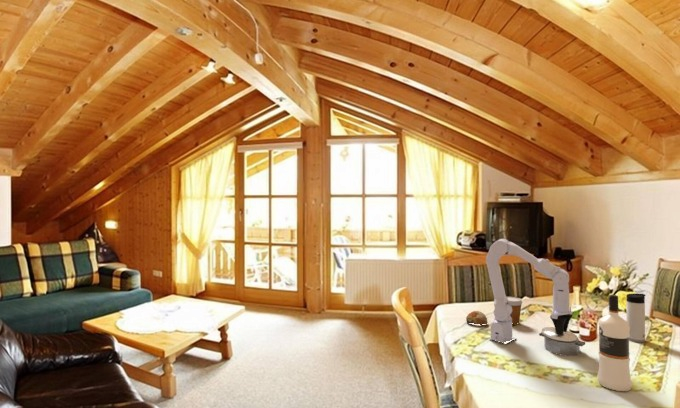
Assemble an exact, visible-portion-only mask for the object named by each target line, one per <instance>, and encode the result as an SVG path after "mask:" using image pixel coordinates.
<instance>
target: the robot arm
mask: <svg viewBox="0 0 680 408" xmlns="http://www.w3.org/2000/svg"><path fill="white" fill-rule="evenodd" d="M505 254H507V255H508V256H510V255H511V256H512V255H513V256H516V257H518V258H520V259H522V260H524V261H526V262H528V263H529V264H531V265H533V268H534V270H535V271H537V272H538V273H540V274H542V276H544V277H546V278H548V279H551V280H552V282H553V287H552V304H553V305H552V311H551V314H550V316H549V318H550V319H551V321H552V323H553V327H555V330H556V333H557V334H561V335H562V334H563V330H564V332H567V331H568V328H569V324H570V321H571V319H572V317H573V313H574V312H573V311H572V308H571V307H570V283H569V282H570V275H569V273H568V272H567V270H565V269H564V268H561V267H560V266H559V265H558V266H556V265H555V264H553V263H551V262H550V259H548V258H537V257H536V256H534V255H533V254H531V253H530V252H528V251H527V250H525V249H524V248H522V247H521V246H520V245H518V244H516V243H514V242H512V241H509V239H507V238H499V239H497V240H495V241H494V242H493V243H492V244H491V245H490V246H489V250H488V252H487V254H486V257H485V263H486V267H487V271H488V277H489V280H490V284H491V289H492V290H491V291H492V294H493V298H494V299H493V301H494V303H493V305H494V309H493V316H494V317H493V318H494V319H493V322H492V323H491V325H490V338H491V339H493V340H496V341H500V342H503V343H504V342H506V341H510V340H512V339H514V338H515V339H516V340H517V338H516V337H513V325H512V318H511V316H510V314H511V313H512V306H511V305H510V304H509V302H508V299H507V297H508V296H507V295H506V291H505V286H504V282H503V276H502V273H501V268H500V264H499V260H501V259H502V256H505ZM512 337H513V338H512Z"/></svg>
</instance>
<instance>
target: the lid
mask: <svg viewBox="0 0 680 408" xmlns="http://www.w3.org/2000/svg"><path fill="white" fill-rule="evenodd" d="M541 332H542V334H543V335H545V336H546V337H548V338H551V339H553V340H557V341H561V342H575V341H576V340H577V337H578V336H577V335H576V333H573V332H572V331H569V330H567V332H564V330H563V334H562V335H561V334H557V333H556V330H555V326H553V327H552V326H546V327H543V328H542V329H541Z"/></svg>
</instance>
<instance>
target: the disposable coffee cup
mask: <svg viewBox="0 0 680 408" xmlns="http://www.w3.org/2000/svg"><path fill="white" fill-rule="evenodd" d="M506 297H507V299H508V302H509V304H510V305H511V306H512V313H511V314H510V316H511V318H512V323H513V324H517V323H519V324H520V319H521V311H522V310H521V309H522V304H523V301H522V298H520V297H515V296H506Z"/></svg>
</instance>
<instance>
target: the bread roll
mask: <svg viewBox="0 0 680 408" xmlns="http://www.w3.org/2000/svg"><path fill="white" fill-rule="evenodd" d="M465 318H466V319H465V321H466V323H467V324H468V323H474V324H480V325H482V324H487V323H488V317H487V316H486V315H485V313H484V312H483V311H481V310H480V311H479V310H473V311H471V312H470V313H468V314H467V316H466V317H465ZM488 324H489V323H488Z"/></svg>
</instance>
